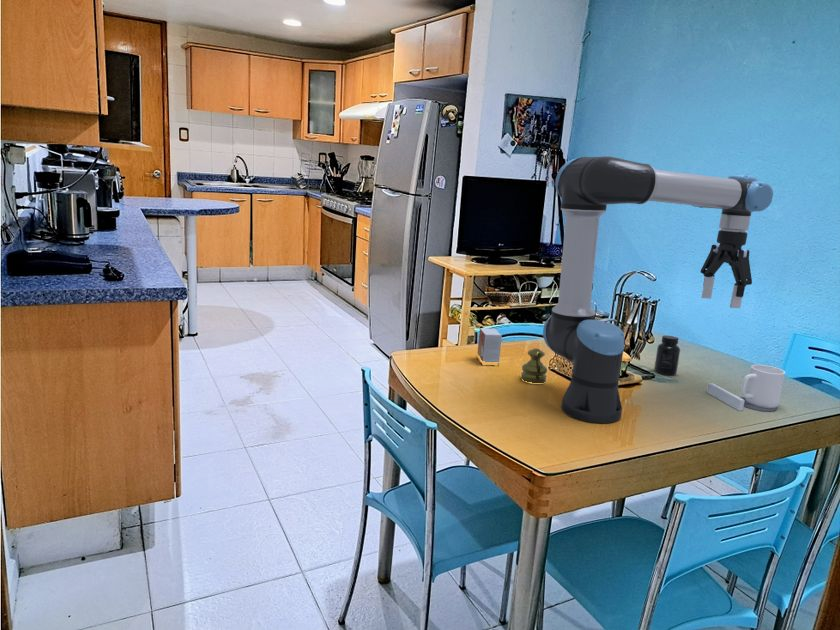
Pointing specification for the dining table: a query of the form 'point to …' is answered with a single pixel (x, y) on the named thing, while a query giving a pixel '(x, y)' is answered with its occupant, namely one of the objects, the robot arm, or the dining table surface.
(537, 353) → the olive green tiered piece
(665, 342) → the supplement bottle
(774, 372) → the cup
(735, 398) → the acrylic wall
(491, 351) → the small box
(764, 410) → the coaster
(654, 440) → the dining table surface
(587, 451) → the dining table surface
